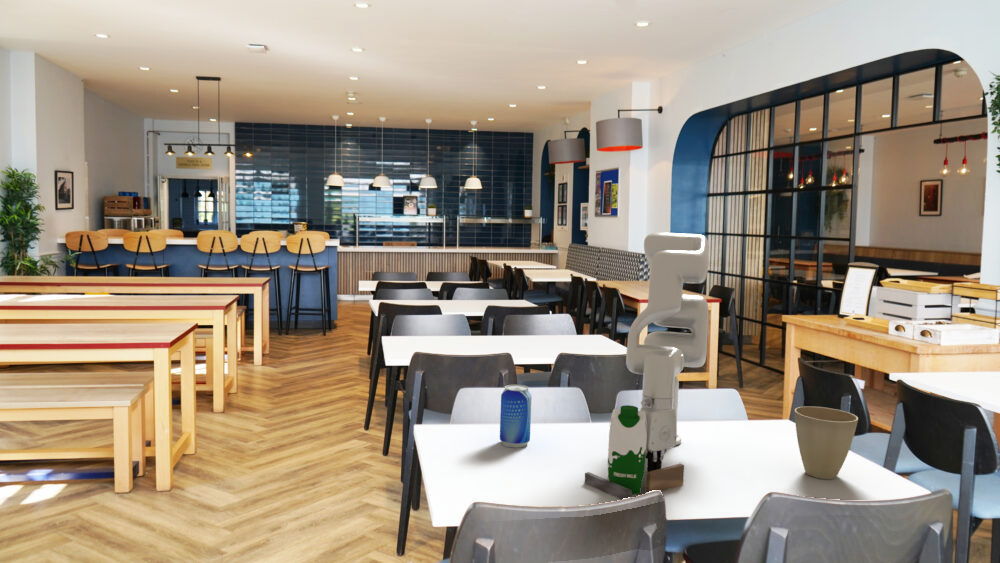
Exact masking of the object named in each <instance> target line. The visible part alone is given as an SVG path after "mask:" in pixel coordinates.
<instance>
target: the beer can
mask: <svg viewBox="0 0 1000 563" xmlns="http://www.w3.org/2000/svg"><path fill="white" fill-rule="evenodd" d="M529 388H530V387H529V386H527V385H523V384H509V385H505V386H504V390H503V392H502V393H501V395H500V418H499V422H500V423H499V440H500V442H501V444H502V445H503V446H505V447H508V448H524V447H526V446H527V445H528V443H529V442H530V441H531V420H532V419H531V418H532V417H531V416H532V394H531V392H530V389H529Z"/></svg>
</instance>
